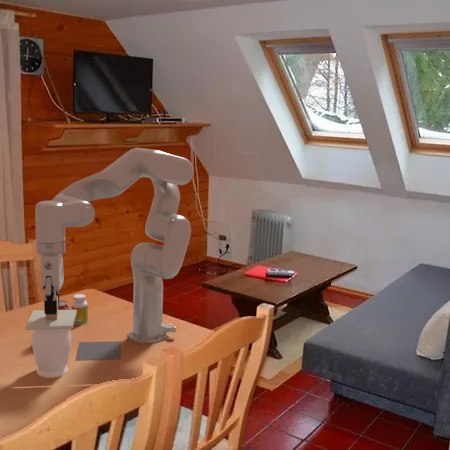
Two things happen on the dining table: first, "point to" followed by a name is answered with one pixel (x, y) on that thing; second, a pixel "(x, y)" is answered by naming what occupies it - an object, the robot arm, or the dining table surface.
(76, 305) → the supplement bottle
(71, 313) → the lid
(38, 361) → the jar
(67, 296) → the dining table surface
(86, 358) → the mat
